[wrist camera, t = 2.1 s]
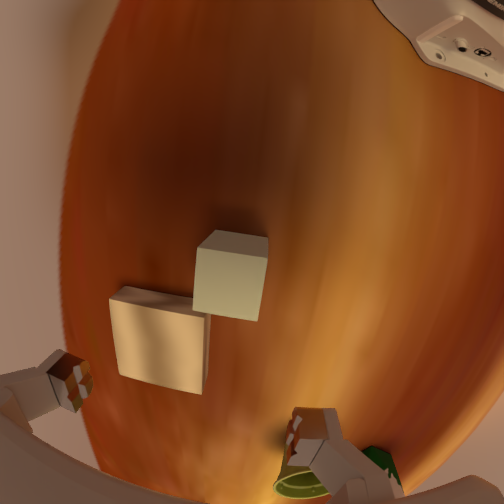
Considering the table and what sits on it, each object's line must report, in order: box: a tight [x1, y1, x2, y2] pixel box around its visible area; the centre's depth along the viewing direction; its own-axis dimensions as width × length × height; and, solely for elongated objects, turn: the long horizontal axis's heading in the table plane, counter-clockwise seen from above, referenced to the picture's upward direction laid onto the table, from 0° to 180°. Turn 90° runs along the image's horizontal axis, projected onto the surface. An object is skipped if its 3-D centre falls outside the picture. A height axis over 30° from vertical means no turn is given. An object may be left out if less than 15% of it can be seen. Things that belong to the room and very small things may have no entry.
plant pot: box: [273, 443, 329, 499], centre depth 29 cm, size 9×9×9 cm
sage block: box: [193, 230, 268, 321], centre depth 23 cm, size 5×5×7 cm
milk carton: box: [362, 446, 405, 499], centre depth 25 cm, size 9×9×20 cm
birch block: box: [109, 286, 211, 395], centre depth 28 cm, size 10×10×4 cm
